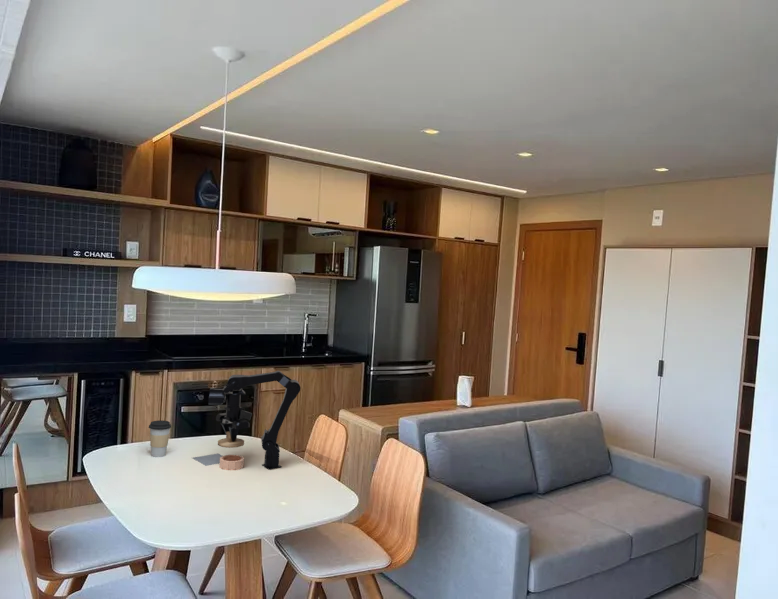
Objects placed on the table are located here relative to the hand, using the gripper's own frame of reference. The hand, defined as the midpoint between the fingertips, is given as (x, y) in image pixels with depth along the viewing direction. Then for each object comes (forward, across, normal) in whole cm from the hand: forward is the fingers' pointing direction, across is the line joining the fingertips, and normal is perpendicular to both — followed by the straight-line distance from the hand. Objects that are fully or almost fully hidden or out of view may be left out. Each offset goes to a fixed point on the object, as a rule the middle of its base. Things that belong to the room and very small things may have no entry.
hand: (231, 440), depth 253 cm
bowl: (+11, -1, 0) cm, 11 cm away
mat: (+11, +12, +2) cm, 16 cm away
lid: (+2, 0, 0) cm, 2 cm away
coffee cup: (+11, +28, +20) cm, 36 cm away
